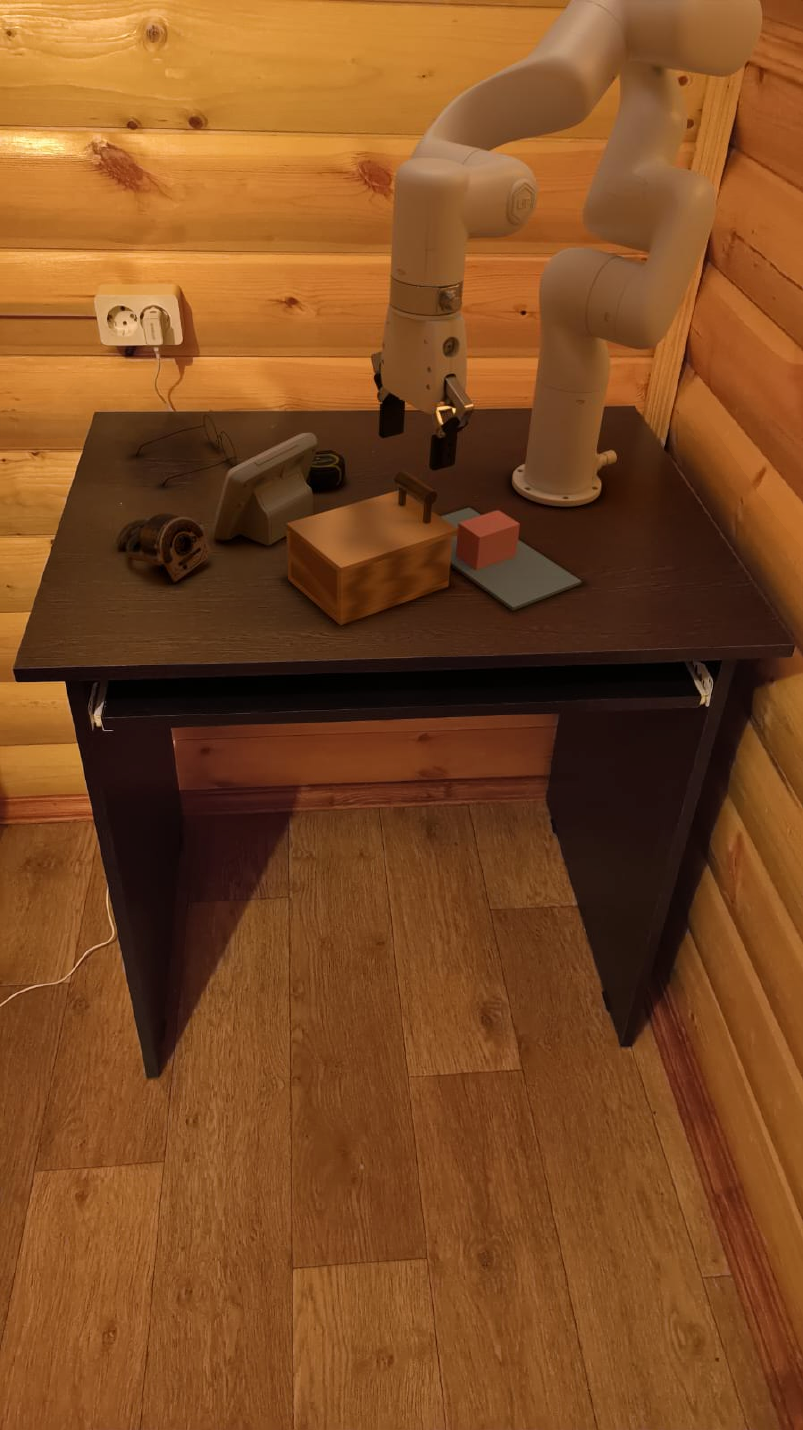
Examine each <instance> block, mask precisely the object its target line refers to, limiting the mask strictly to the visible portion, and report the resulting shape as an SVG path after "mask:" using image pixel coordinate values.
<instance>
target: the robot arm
mask: <svg viewBox="0 0 803 1430" xmlns="http://www.w3.org/2000/svg"><path fill="white" fill-rule="evenodd" d="M762 9H763V8H762V4H761V1H760V0H569V2H568V4H567V5H566V7H565V8H564V9H563V10H562V11H561V13H560V14H559V16H558V17H557V18H556V20H555V21H554V22H553V24H552V25H551V26H550V27H549V29H548V30H547V31H546V33H545V34H544V35H543V37H542V38H541V39H540V40H539V42H538V43H537V45H536V46H535V47H534V49H533V50H532V51H531V52H530V54H528V56H527V57H525V58H523V59H522V60H519V61H517V62H515V63H513V64H511V65H509V66H507V67H505V68H503V69H501V70H499V71H498V72H496V73H494V74H492V75H491V76H488V77H487V78H485V79H484V80H482V81H481V82H478V83H477V84H474V85H472V86H471V87H469V88H468V89H467V90H465V91H463V92H462V93H461V94H459V95H457V96H456V97H455V98H453V100H452V101H450V102H449V103H448V104H447V105H446V106H445V107H444V109H443V110H441V112H440V113H439V114H438V115H437V117H436V118H435V119H434V121H433V122H432V123H431V124H430V125H429V127H428V129H426V131H425V132H424V134H423V135H422V136H421V138H420V140H419V141H418V143H417V145H416V146H415V147H414V149H413V152H412V153H411V156H410V157H409V159H408V160H404V161H403V162H402V163H400V165H399V166H398V168H397V169H396V172H395V175H394V181H393V182H394V183H393V201H392V203H393V205H392V227H391V228H392V229H391V230H392V231H391V252H390V253H391V255H390V275H389V276H390V277H389V296H388V298H389V299H388V305H387V309H386V314H385V315H386V316H385V320H384V326H383V327H384V328H383V336H382V345H381V351H379V352H376V353H372V354H371V356H370V361H371V365H372V370H373V373H374V375H373V381H374V383H375V385H376V389H377V393H376V399H377V401H378V403H379V415H378V417H379V418H378V437H380V438H382V439H387V438H391V437H394V436H399V435H402V434H404V432H405V416H406V415H405V413H406V404H408V405H410V406H412V407H413V408H416V409H417V410H419V411H420V412H422V413H423V414H426V415H428V416H429V418H430V421H431V424H432V427H433V430H434V432H435V434H431V437H430V448H429V449H430V451H429V463H428V464H429V465H428V466H429V469H430V470H432V471H434V472H435V471H439V470H443V469H446V468H450V467H453V466H454V465H455V463H456V456H457V455H456V454H457V444H458V434H461V433H462V432H463V429H464V428H465V427H467V426H468V425H469V420H470V419H471V417H472V414H473V413H474V411H475V405H474V403H473V401H472V400H471V398H470V397H469V395H468V394H467V376H468V375H467V373H468V343H467V341H468V339H467V328H466V319H465V315H463V314H462V307H463V291H464V290H463V289H464V278H465V270H466V269H465V267H466V257H467V256H466V255H467V245H468V241H469V240H470V239H500V238H506V237H509V236H511V235H513V234H515V233H517V232H519V231H520V230H521V229H523V228H524V227H525V226H526V225H527V224H528V222H529V221H530V219H531V218H532V216H533V214H534V212H535V210H536V208H537V204H538V200H539V199H538V198H539V186H538V182H537V179H536V176H535V173H534V172H533V170H532V169H531V168H530V167H529V166H528V165H527V164H526V163H524V162H523V161H522V160H521V159H518V158H517V157H515V156H511V155H508V154H503V153H499V152H495V151H493V150H494V149H496V148H499V147H501V146H503V145H506V144H509V143H512V142H516V141H520V140H526V139H530V138H536V137H541V136H546V135H551V134H554V133H558V132H562V131H565V130H569V129H571V128H573V127H576V126H578V125H580V124H582V123H583V122H584V121H585V120H586V119H588V117H589V116H590V114H591V113H592V112H593V110H594V109H595V108H596V107H597V105H598V103H599V102H600V101H601V99H602V98H603V97H604V95H605V94H606V92H607V91H608V90H609V88H610V87H611V86H612V84H613V83H614V82H615V80H616V79H617V78H619V103H618V107H617V108H618V109H617V113H616V117H615V119H614V122H613V125H612V127H611V132H610V133H609V136H608V139H607V142H606V144H605V146H604V149H603V151H602V154H601V157H600V159H599V162H598V164H597V167H596V170H595V172H594V175H593V178H592V180H591V183H590V185H589V188H588V190H587V194H586V197H585V200H584V203H583V209H582V223H583V226H584V229H586V231H587V232H588V233H589V235H591V236H592V237H594V238H596V239H598V240H601V241H603V242H606V243H609V244H612V245H616V246H620V247H623V248H627V249H632V250H636V251H638V252H639V251H640V252H643V253H647V254H648V256H647V259H646V261H645V262H642V261H638V260H634V259H630V258H626V257H623V256H621V255H618V254H613V253H610V252H606V251H602V250H598V249H594V248H589V247H581V246H580V247H575V246H573V247H568V248H564V249H562V250H560V251H558V252H556V253H555V254H554V255H553V256H551V258H549V260H548V261H547V262H546V265H544V268H543V270H542V273H541V276H540V280H539V285H538V310H539V325H540V328H539V331H540V332H539V333H540V334H539V349H538V350H539V351H538V359H537V369H536V376H535V384H534V392H533V398H532V407H531V413H530V414H531V415H530V422H529V431H528V437H527V446H526V455H525V462H524V463H523V464H522V465H520V466H518V467H516V469H515V470H513V473H512V475H511V485H512V487H513V489H514V490H515V491H516V493H518V494H519V495H520V496H521V497H523V498H525V499H527V500H529V501H531V502H535V503H538V504H541V505H545V506H550V507H560V508H561V507H562V508H568V507H571V508H572V507H578V506H584V505H587V504H589V503H591V502H593V501H595V500H596V499H597V498H599V496H600V495H601V491H602V484H603V483H602V480H601V478H600V477H599V476H598V475H597V474H598V471H600V470H601V469H602V467H606V466H609V465H612V464H616V462H617V459H618V457H617V453H616V452H615V451H614V450H613V449H610V450H607V451H604V452H600V453H598V450H597V449H598V445H599V440H600V439H599V438H600V432H601V428H602V427H601V426H602V421H603V415H604V410H605V404H606V397H607V392H608V387H609V381H610V376H611V356H610V352H609V347H608V343H607V342H609V343H614V344H617V345H619V346H623V347H626V348H630V349H633V350H639V351H641V350H649V349H650V350H651V349H652V348H654V347H656V346H657V345H659V343H661V342H662V340H663V339H664V338H665V336H666V335H667V334H668V332H669V330H670V329H671V327H672V324H673V323H674V321H675V318H676V316H677V314H678V312H679V309H680V308H681V305H682V303H683V300H684V297H685V295H686V293H687V290H688V288H689V286H690V284H691V281H692V279H693V276H694V274H695V272H696V269H697V268H698V265H699V262H700V260H701V258H702V256H703V253H704V250H705V248H706V246H707V243H708V240H709V238H710V235H711V233H712V229H713V226H714V221H715V218H716V213H717V212H716V211H717V196H716V190H715V189H716V188H715V187H714V185H713V183H712V181H711V180H710V179H709V178H708V177H707V176H706V175H704V174H702V173H700V172H698V171H696V170H691V169H687V168H681V167H677V166H675V162H676V159H677V156H678V154H679V152H680V150H681V149H680V148H681V146H682V143H683V141H684V138H685V136H686V133H687V128H688V111H687V105H686V101H685V97H684V94H683V91H682V88H681V85H680V82H679V79H678V76H677V72H676V71H679V72H686V73H692V74H699V75H706V76H712V77H717V78H718V77H719V78H726V77H729V76H732V75H734V74H736V73H737V72H739V71H740V70H741V69H742V68H743V67H745V65H746V64H747V63H748V62H749V61H750V59H751V57H752V56H753V54H754V52H755V50H756V47H757V46H758V43H759V40H760V38H761V32H762V29H763V28H762V27H763V10H762ZM440 403H443V404H442V405H438V404H440ZM441 414H446V417H447V419H448V420H446V421H445V422H443V418H442V416H441Z"/></svg>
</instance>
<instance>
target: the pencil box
mask: <svg viewBox="0 0 803 1430" xmlns="http://www.w3.org/2000/svg"><path fill="white" fill-rule="evenodd" d="M286 532H287V535H286V560H287V561H286V563H287V580H288V582H290V583H291V584H293V586H295V587H296V588H297V589H298V590H299V591H300V592H302V594H304V595H305V596H306V597H307V598H309V599H310V601H312V602H313V603H314V604H315V605H316V606H318V608H319V609H321V610H322V612H324V613H325V614H327V616H329V617H330V618H331V619H332V620H333V621H335V623H337V625H339V626H343V625H346V624H348V623H351V622H354V621H357V620H361V619H363V618H365V617H368V616H371V615H374V614H376V613H379V612H382V611H385V610H387V609H391V608H393V607H397V606H399V605H402V604H404V603H407V602H409V601H412V600H416V599H418V598H421V597H423V596H427V595H429V594H432V593H435V592H437V591H440V590H443V589H446V588H449V584H450V575H451V565H450V563H451V551H452V539H453V537H450V538H447V539H444V540H441V541H438V542H435V543H432V544H429V545H426V546H423V547H420V548H417V549H414V550H411V551H408V552H405V553H402V554H399V555H396V556H393V557H390V558H387V559H384V560H381V561H378V562H375V563H372V564H369V565H366V566H363V567H360V568H357V569H354V570H351V571H348V572H345V573H341V574H340V573H339V572H338V571H337V570H336V569H334V568H333V567H332V566H331V565H329V564H328V563H327V562H326V561H325V560H323V559H322V558H321V557H320V556H318V555H317V554H316V553H315V552H314V551H312V550H311V549H310V548H309V547H308V546H306V545H305V544H304V543H303V542H301V541H300V540H299V539H298V538H297V537H295V536H294V535H293V534H292V533H291V532H289V531H288V530H286Z"/></svg>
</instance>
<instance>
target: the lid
mask: <svg viewBox="0 0 803 1430" xmlns="http://www.w3.org/2000/svg"><path fill="white" fill-rule="evenodd" d="M394 483H395V485H396V486H398V490H395V491H391V492H388V493H385V494H381V495H378V496H374V497H371V498H367V499H364V500H360V501H357V502H353V503H351V504H348V505H344V506H340V507H337V508H333V509H330V510H328V511H323V512H319V513H317V514H313V516H309V517H306V518H303V519H299V520H296V521H292V522H289V523H286V529H287V530H288V531H289V532H291V533H292V534H293V535H294V536H295V537H297V538H298V539H299V540H300V541H301V542H303V543H304V544H305V545H306V546H308V547H309V548H310V549H311V550H312V551H314V552H315V553H316V554H317V555H318V556H320V557H321V558H322V559H323V560H325V561H326V562H327V563H328V564H329V565H331V566H332V567H333V568H334V569H336V570H337V571H338V572H339V573H340V574H341V573H345V572H348V571H351V570H354V569H357V568H360V567H363V566H366V565H369V564H372V563H375V562H378V561H381V560H384V559H387V558H390V557H393V556H396V555H399V554H402V553H405V552H408V551H411V550H414V549H417V548H420V547H423V546H426V545H429V544H432V543H435V542H438V541H441V540H444V539H447V538H450V537H453V536H456V535H458V529H457V528H456V527H455V526H453V525H452V524H450V523H449V522H447V521H446V520H444V519H443V518H441V516H440V515H439V514H437V513H435V511H433V510H432V509H433V505H434V504H435V502H437V499H438V493H437V492H436V491H435V490H434V489H432V488H431V487H429V486H427V485H426V484H425V483H424V482H422V481H421V480H419V479H417V478H416V477H415V476H412V475H411V474H410V473H409V472H407V471H405V470H400V471H398V472H397V473H396V474H395V477H394ZM412 496H413V497H412ZM417 499H418V500H419V501H420V502H419V501H418V500H417ZM421 502H422V503H421Z"/></svg>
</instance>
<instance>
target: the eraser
mask: <svg viewBox="0 0 803 1430" xmlns="http://www.w3.org/2000/svg"><path fill="white" fill-rule="evenodd" d="M480 515H481V516H478V517H475V518H472V519H469V520H466V521H463V522H460V523H458V535H457V545H456V556H457V557H459V558H460V559H462V560H463V561H464V562H466V563H467V564H469V565H470V566H471V567H473V568H474V569H476V570H478V569H481V568H484V567H487V566H489V565H492V564H495V563H498V562H501V561H503V560H506V559H509V558H512V557H515V556H516V550H517V542H518V540H519V533H520V528H521V527H520V526H521V524H520V523H519V522H517V521H516V520H515V519H513V518H512V517H511V516H509V515H507V514H505V512H502V511H500V510H499V509H497V510H493V511H490V512H487V513H484V514H480Z"/></svg>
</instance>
